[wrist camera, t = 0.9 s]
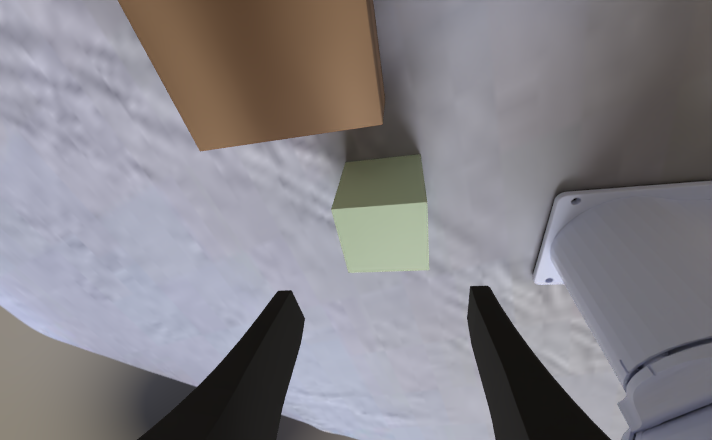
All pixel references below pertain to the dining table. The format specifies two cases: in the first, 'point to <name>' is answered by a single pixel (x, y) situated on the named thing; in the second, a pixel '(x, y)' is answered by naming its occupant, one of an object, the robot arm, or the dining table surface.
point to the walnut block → (264, 66)
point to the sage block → (383, 215)
